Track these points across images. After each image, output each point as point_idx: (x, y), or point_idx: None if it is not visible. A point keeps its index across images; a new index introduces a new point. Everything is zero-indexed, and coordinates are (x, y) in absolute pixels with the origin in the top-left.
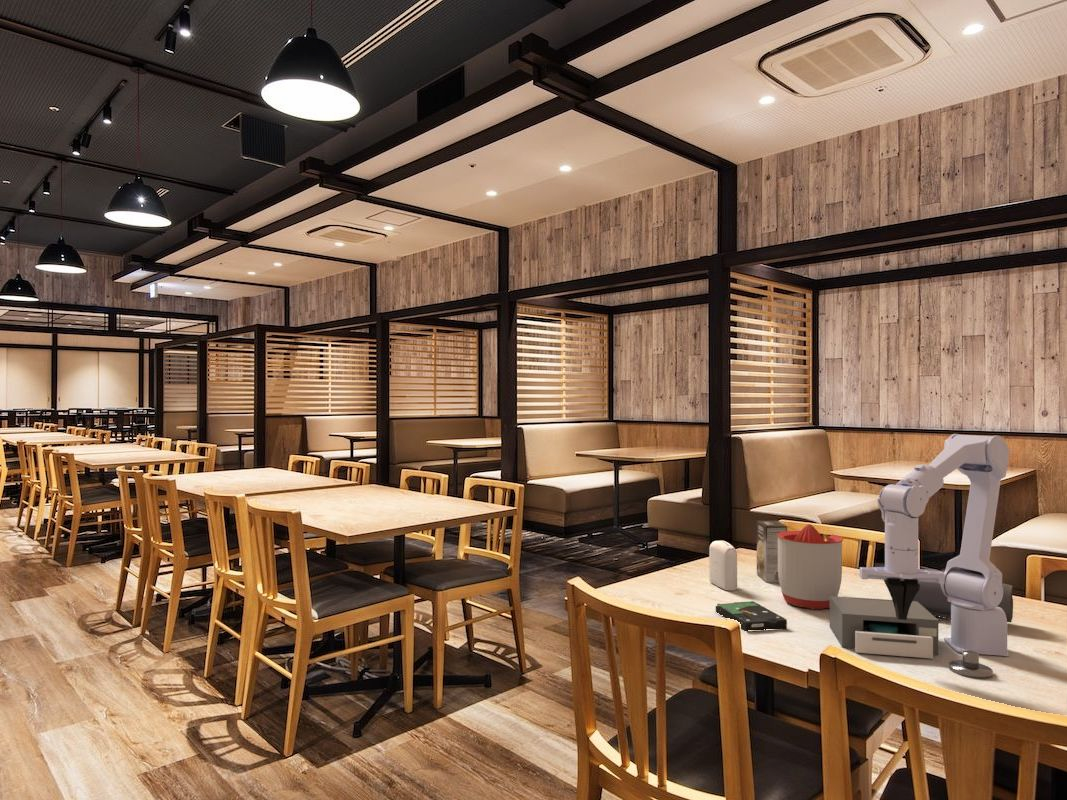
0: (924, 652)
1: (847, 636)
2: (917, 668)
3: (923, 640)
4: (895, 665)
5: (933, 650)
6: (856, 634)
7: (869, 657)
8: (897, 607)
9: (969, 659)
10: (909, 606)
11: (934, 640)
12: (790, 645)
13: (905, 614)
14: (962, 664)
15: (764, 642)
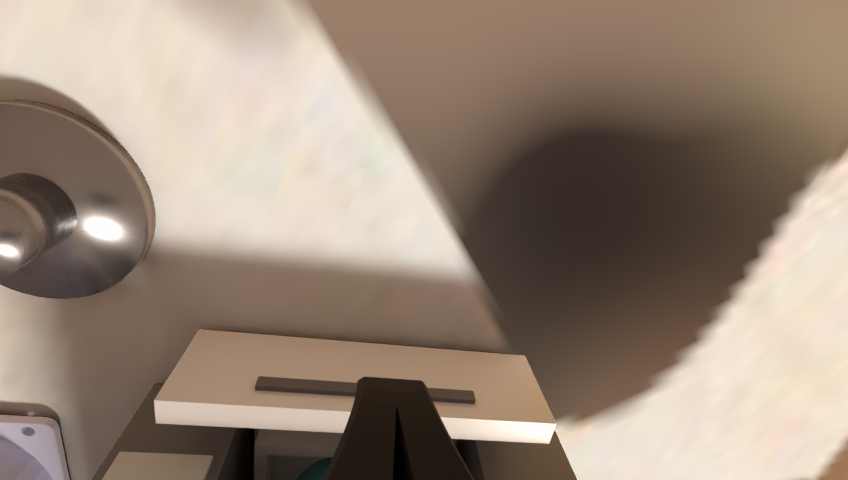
0: (229, 348)
1: (540, 447)
2: (316, 216)
3: (214, 390)
4: (409, 242)
5: None
6: (551, 416)
7: (483, 322)
8: (465, 469)
9: (7, 196)
10: (332, 476)
11: (141, 436)
12: (737, 402)
13: (376, 406)
14: (71, 242)
15: (815, 417)
